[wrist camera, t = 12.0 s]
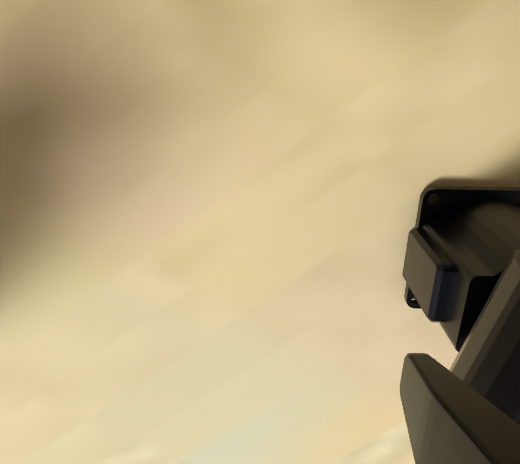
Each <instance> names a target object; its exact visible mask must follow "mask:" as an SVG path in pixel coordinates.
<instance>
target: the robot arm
mask: <svg viewBox="0 0 520 464" xmlns="http://www.w3.org/2000/svg"><path fill="white" fill-rule="evenodd" d="M432 194H436V198H435V200H433V201H431V202H429V201H428V198H429V196H430V195H432ZM403 277H404V279H405V280H406V282H407V283H406V289H405V295H404V297H405V301H406V303H407V304H408V306H410V307H411V308H422V310H423V312H424V313H425V315H426V317H427V318H428V319H429V320H430V321H431V322H439V323H440V324H441V326H442V328H443V329H444V331H445V333H446V334H447V336H448V337H449V339H450V341H451V342H452V344H453V346H454V347H455V349H456V350H457V351H458V352H459V353H458V355H457V357H456V359H455V361H454V362H453V364H452V366H451V368H450V370H448V369H446V368H445V367H444V366H443V365H441V364H440V363H439V362H437V361H436V360H435V359H433V358H432V357H431V356H429V355H428V354H424V353H408V354H407V355H406V356H405V359H404V364H403V370H402V376H401V382H400V396H401V401H402V405H403V410H404V414H405V419H406V423H407V428H408V433H409V437H410V442H411V446H412V451H413V455H414V459H415V464H520V188H485V187H428V188H426V189H424V190H423V192H422V193H421V195H420V201H419V207H418V213H417V219H416V226H415V228H413V229H412V230H411V231H410V232H409V236H408V242H407V249H406V255H405V262H404V268H403ZM414 296H415V298H416V300H411V299H412V298H413V297H414Z"/></svg>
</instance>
